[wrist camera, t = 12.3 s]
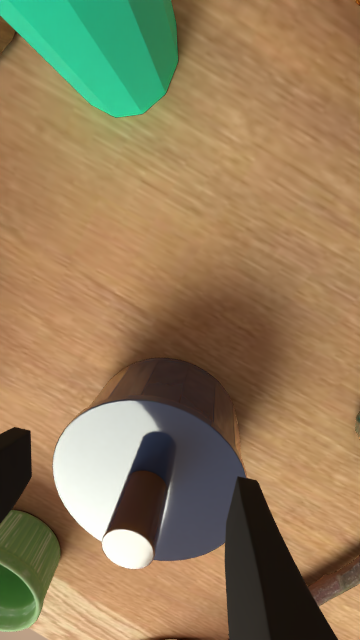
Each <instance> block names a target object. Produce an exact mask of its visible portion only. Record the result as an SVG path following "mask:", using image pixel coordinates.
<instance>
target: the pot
mask: <svg viewBox="0 0 360 640" xmlns="http://www.w3.org/2000/svg"><path fill="white" fill-rule="evenodd" d="M124 395H149V396H156V397H161V398H165V399H169V400H173V401H175V402H178V403H181V404H183V405H186V406H188V407H190V408H192V409H194V410H196V411H198V412H199V413H201V414H202V415H204V416H205V417H207V418H208V419H210V420H211V421H212V422H213V423H214V424H216V425H217V426H218V427H219V428H220V429H221V430H222V431H223V432H224V433H225V434H226V435H227V436H228V438H229V439H230V440H231V442H232V443H233V445H234V446H235V447H236V449H237V451H238V453H239V455H240V457H241V448H240V436H239V427H238V423H237V417H236V411H235V408H234V405H233V403H232V401H231V399H230V397H229V395H228V393H227V392H226V390H225V389H224V388H223V386H222V385H221V384H220V383H219V382H218V381H217V380H216V379H215V378H214V377H213V376H211V375H210V374H209V373H207V372H206V371H204V370H203V369H201V368H199V367H197V366H195V365H193V364H190V363H188V362H185V361H181V360H177V359H170V358H152V359H146V360H142V361H138V362H136V363H133V364H131V365H129V366H127V367H126V368H124V369H122V370H121V371H120V372H119V373H117V374H116V375H115V376H114V377H113V378H111V379H110V380H109V382H108V383H107V384H106V385H105V387H104V388H103V389H102V391H101V392H100V393H99V395H98V396H97V397H96V398H95V400H94V401H93V402H92V404H91V405H93V404H95V403H97V402H100V401H102V400H105V399H108V398H113V397H117V396H124ZM91 405H90V406H91Z"/></svg>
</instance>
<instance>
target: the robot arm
mask: <svg viewBox="0 0 360 640" xmlns="http://www.w3.org/2000/svg"><path fill="white" fill-rule="evenodd" d="M31 477H32V468H31V434H30V431H29V430H25V429H20V428H16V427H14V428H12V429H9V430H7V431H5V432H4V433H2V434H0V524H1V523H2V521H3V520H4V519H5V517H6V516H7V515H8V513H9V512H10V511H11V509H12V508H13V506H14V505H15V503H16V502H17V500H18V499H19V497H20V495H21V494H22V492H23V491H24V489H25V487H26V486H27V484H28V482H29V481H30V479H31ZM225 575H226V593H227V610H228V627H229V640H338V639H337V637H336V635H335V634H334V632H333V630H332V629H331V627H330V625H329V624H328V622H327V620H326V619H325V617H324V615H323V614H322V612H321V610H320V608H319V607H318V605H317V603H316V601H315V599H314V598H313V596H312V594H311V592H310V590H309V589H308V587H307V585H306V583H305V581H304V579H303V578H302V576H301V574H300V572H299V570H298V568H297V566H296V564H295V562H294V560H293V558H292V556H291V554H290V552H289V550H288V548H287V546H286V544H285V542H284V540H283V538H282V536H281V534H280V532H279V530H278V527H277V525H276V523H275V521H274V519H273V516H272V514H271V512H270V510H269V507H268V505H267V503H266V500H265V498H264V495H263V493H262V490H261V488H260V485H259V483H258V482H257V480H252V479H248V478H243V477H239V476H237V480H236V484H235V488H234V492H233V496H232V501H231V505H230V509H229V513H228V517H227V521H226V536H225Z"/></svg>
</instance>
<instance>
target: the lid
mask: <svg viewBox="0 0 360 640" xmlns="http://www.w3.org/2000/svg"><path fill="white" fill-rule="evenodd" d="M237 476H239V477H243V478H247V474H246V470H245V467H244V464H243V461H242V459H241V457H240V455H239V453H238V451H237V449H236V447H235V446H234V445H233V443H232V442H231V440H230V439H229V438H228V436H227V435H226V434H225V433H224V432H223V431H222V430H221V429H220V428H219V427H218V426H217V425H216V424H214V423H213V422H212V421H211V420H210V419H208V418H207V417H205V416H204V415H202V414H201V413H199V412H198V411H196V410H194V409H192V408H190V407H188V406H186V405H183V404H181V403H178V402H175V401H173V400H169V399H165V398H161V397H156V396H149V395H124V396H117V397H113V398H108V399H105V400H102V401H100V402H97V403H95V404H93V405H91V406H89V407H88V408H86V409H84V410H83V411H82V412H80V413H79V414H78V415H77V416H76V417H75V418H74V419H73V420H72V421H71V422H70V423H69V424H68V426H67V427H66V428H65V429H64V431H63V433H62V434H61V436H60V437H59V440H58V442H57V444H56V447H55V451H54V456H53V477H54V481H55V486H56V489H57V491H58V494H59V496H60V498H61V500H62V502H63V504H64V506H65V507H66V509H67V510H68V512H69V513H70V514H71V516H72V517H73V518H74V519H75V520H76V521H77V523H78V524H79V525H81V526H82V527H83V528H84V529H85V530H86V531H87V532H88V533H90V534H91V535H92V536H94V537H95V538H96V539H98V540H99V541H101V542H102V549H103V551H104V553H105V555H106V556H107V557H108V558H109V559H110V560H111V561H112V562H114V563H115V564H117V565H119V566H121V567H124V568H128V569H140V568H144V567H146V566H148V565H149V564H150V563H151V562H152V561H153V560H158V561H177V560H185V559H190V558H195V557H198V556H201V555H204V554H207V553H209V552H211V551H213V550H215V549H216V548H218V547H219V546H221V545H223V544H224V543H225V536H226V521H227V517H228V513H229V509H230V505H231V501H232V496H233V492H234V488H235V484H236V480H237Z"/></svg>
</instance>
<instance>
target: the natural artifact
mask: <svg viewBox="0 0 360 640" xmlns="http://www.w3.org/2000/svg"><path fill="white" fill-rule="evenodd" d="M358 584H360V555H359V556H358V557H357V558H356V559H355V560H353V561H352V562H350V563H349V564H347V565H346V566H344V567H342V568H341V569H340V570H338V571H335V572H334V573H331V574H325V575H324V576H323V577H322V578H321V579H319V580H318V581H316V582H315V583H313V584H312V585H310V586H308V589H309V590H310V592H311V594H312V596H313V598H314V599H315V601H316V603H317V605H318V607H319V606H320V605H322V604H324V603H325V602H327V601H329V600H330V599H332V598H334V597H336V596H338V595H340V594H342V593H344V592H346V591H348V590H349V589H351V588H353V587H355V586H357V585H358ZM228 635H229V634H228Z"/></svg>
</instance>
